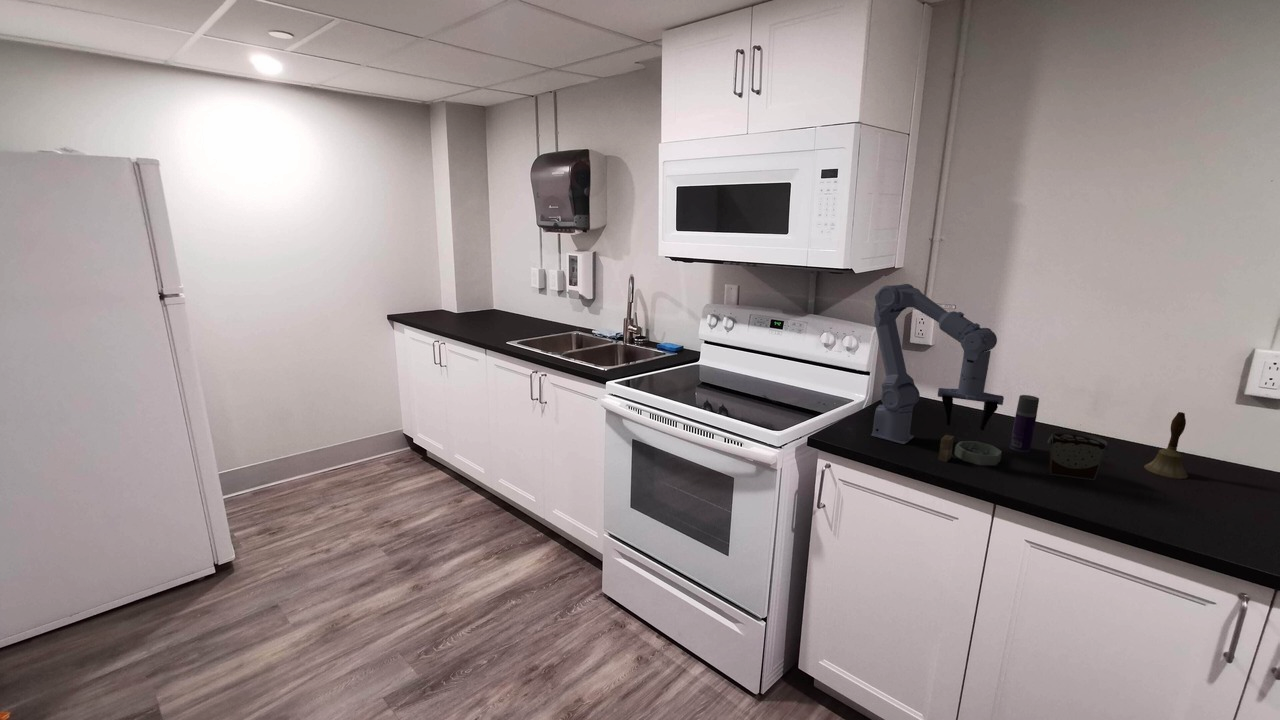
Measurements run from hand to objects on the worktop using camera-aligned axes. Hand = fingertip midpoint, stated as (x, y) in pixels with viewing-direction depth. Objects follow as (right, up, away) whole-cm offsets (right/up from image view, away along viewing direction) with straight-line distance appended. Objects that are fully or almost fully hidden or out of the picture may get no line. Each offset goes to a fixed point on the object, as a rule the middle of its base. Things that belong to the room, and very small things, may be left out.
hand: (964, 426), depth 149 cm
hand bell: (+49, -11, -3) cm, 50 cm away
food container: (+24, -11, -4) cm, 26 cm away
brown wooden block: (-3, -9, +3) cm, 10 cm away
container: (+21, -8, +10) cm, 25 cm away
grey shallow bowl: (+6, -9, +4) cm, 11 cm away
